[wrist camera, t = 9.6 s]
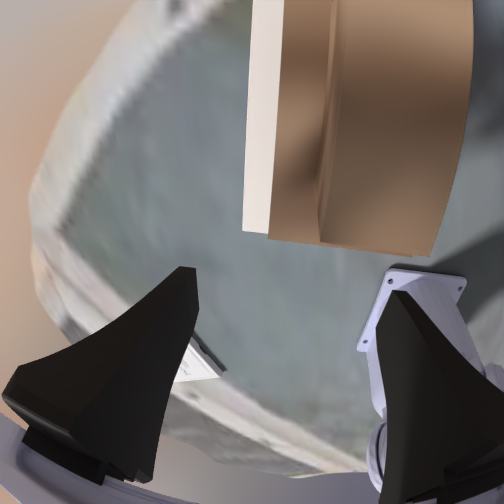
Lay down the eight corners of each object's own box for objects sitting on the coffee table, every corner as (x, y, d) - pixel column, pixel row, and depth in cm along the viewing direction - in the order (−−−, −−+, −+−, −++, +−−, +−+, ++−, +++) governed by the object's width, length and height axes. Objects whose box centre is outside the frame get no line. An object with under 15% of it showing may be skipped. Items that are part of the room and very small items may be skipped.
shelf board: (405, 245, 15) (441, 321, 10) (270, 228, 16) (253, 304, 11) (442, -22, 7) (503, -54, 2) (288, -57, 8) (277, -123, 2)
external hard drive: (109, 335, 33) (183, 319, 28) (148, 376, 36) (224, 368, 32) (103, 345, 31) (177, 331, 27) (144, 385, 35) (220, 379, 30)
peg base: (406, 244, 20) (422, 277, 16) (244, 224, 21) (233, 254, 18) (443, -18, 9) (470, -33, 6) (259, -54, 10) (248, -82, 7)
